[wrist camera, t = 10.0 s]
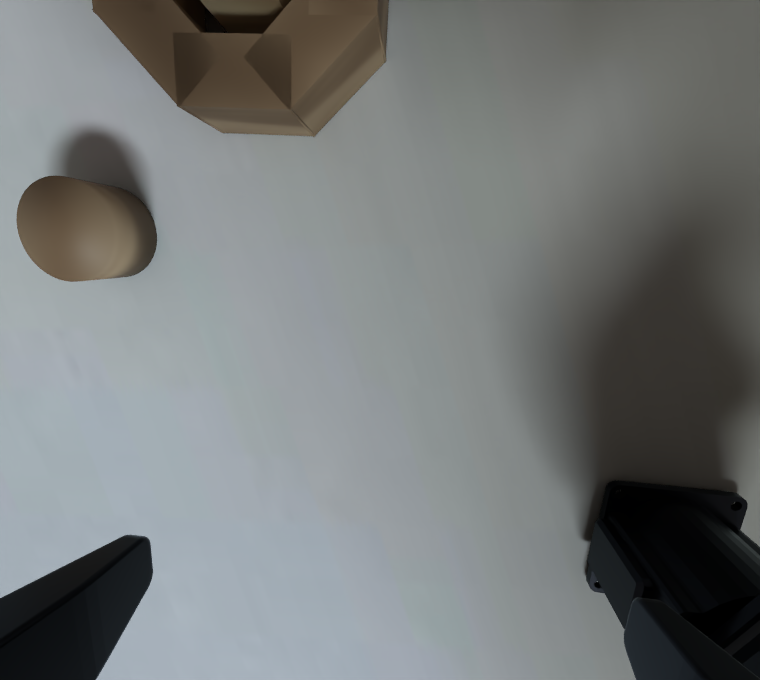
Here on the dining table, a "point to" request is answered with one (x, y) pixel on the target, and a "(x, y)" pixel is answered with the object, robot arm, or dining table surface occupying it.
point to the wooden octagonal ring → (256, 60)
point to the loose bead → (85, 229)
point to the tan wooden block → (245, 14)
